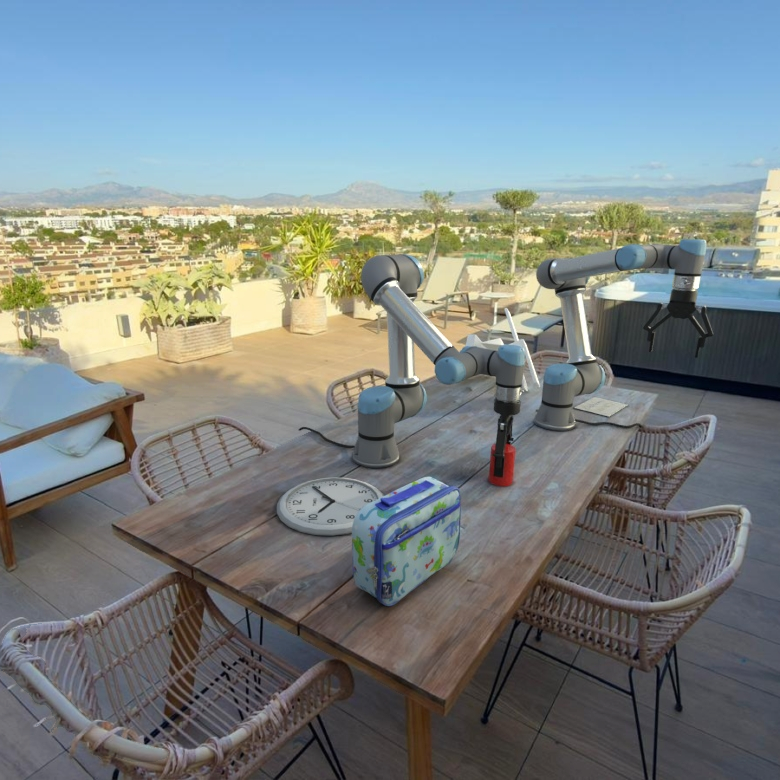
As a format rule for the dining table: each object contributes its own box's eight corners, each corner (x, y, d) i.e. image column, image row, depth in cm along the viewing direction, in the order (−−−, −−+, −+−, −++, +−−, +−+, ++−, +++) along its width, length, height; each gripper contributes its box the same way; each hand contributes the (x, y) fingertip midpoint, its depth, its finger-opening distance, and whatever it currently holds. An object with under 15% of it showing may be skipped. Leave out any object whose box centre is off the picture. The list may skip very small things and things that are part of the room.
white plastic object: (474, 420, 264) (452, 397, 239) (456, 347, 286) (434, 319, 261) (545, 396, 252) (530, 369, 227) (521, 322, 274) (504, 290, 249)
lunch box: (381, 619, 101) (382, 525, 95) (345, 592, 109) (344, 503, 102) (464, 563, 119) (469, 480, 113) (428, 543, 126) (432, 464, 120)
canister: (513, 487, 155) (517, 453, 151) (489, 485, 155) (492, 451, 152) (511, 476, 161) (514, 443, 158) (487, 474, 162) (490, 442, 159)
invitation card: (608, 416, 214) (573, 407, 224) (608, 416, 214) (573, 408, 224) (628, 404, 229) (594, 396, 238) (628, 405, 229) (594, 397, 238)
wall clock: (392, 527, 129) (268, 531, 127) (391, 533, 130) (269, 537, 127) (383, 473, 158) (282, 475, 155) (383, 478, 158) (282, 480, 156)
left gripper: (515, 413, 139) (508, 487, 146) (525, 389, 160) (519, 455, 166) (486, 409, 141) (481, 482, 148) (501, 386, 162) (495, 451, 169)
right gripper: (640, 287, 170) (630, 350, 177) (730, 293, 158) (716, 361, 164) (644, 285, 176) (634, 347, 183) (730, 291, 164) (717, 357, 170)
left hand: (501, 468), depth 157 cm, fingers open, 11 cm apart
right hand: (673, 354), depth 173 cm, fingers open, 13 cm apart
